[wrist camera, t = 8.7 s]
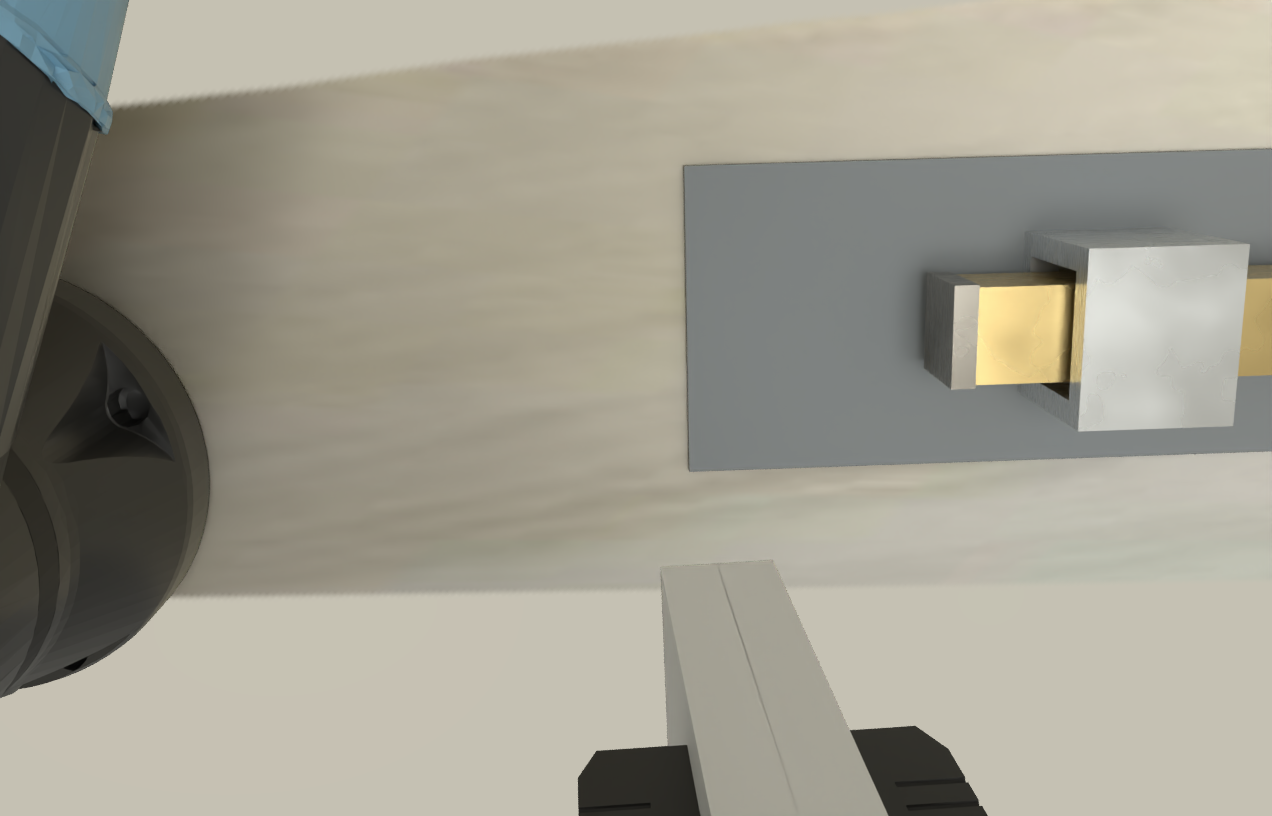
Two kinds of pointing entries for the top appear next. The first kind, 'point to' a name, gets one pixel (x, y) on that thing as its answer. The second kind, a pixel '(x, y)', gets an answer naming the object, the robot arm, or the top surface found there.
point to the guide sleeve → (1146, 327)
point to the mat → (917, 300)
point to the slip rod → (1041, 327)
